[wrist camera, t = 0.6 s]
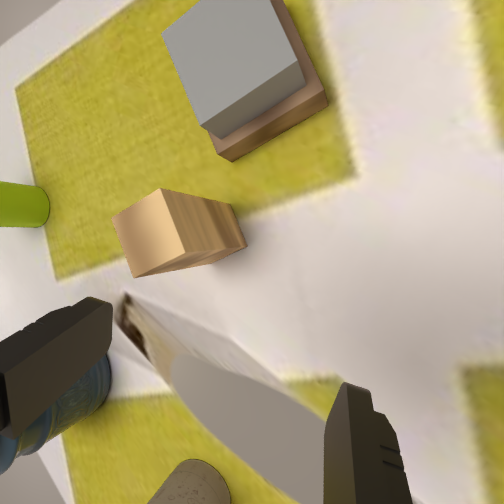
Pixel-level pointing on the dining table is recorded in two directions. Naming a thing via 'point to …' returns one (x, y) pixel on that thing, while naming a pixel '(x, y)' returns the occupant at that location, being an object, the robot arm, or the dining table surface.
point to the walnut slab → (285, 111)
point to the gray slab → (232, 61)
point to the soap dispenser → (22, 205)
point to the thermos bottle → (193, 486)
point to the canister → (60, 414)
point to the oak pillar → (176, 232)
